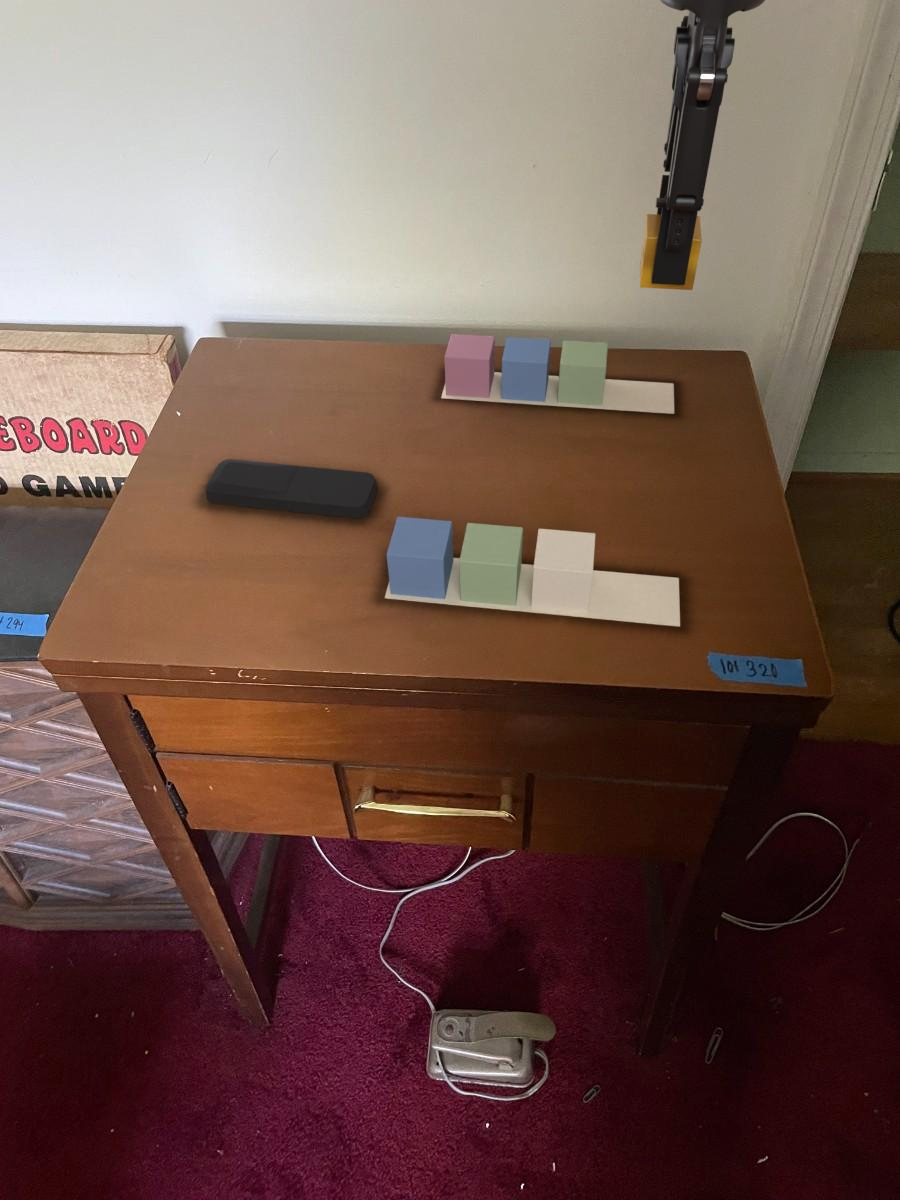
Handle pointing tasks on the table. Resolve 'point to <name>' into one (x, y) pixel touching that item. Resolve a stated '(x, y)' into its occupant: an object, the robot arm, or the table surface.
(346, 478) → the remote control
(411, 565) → the white strip with cubes
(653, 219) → the block
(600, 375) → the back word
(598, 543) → the table surface
